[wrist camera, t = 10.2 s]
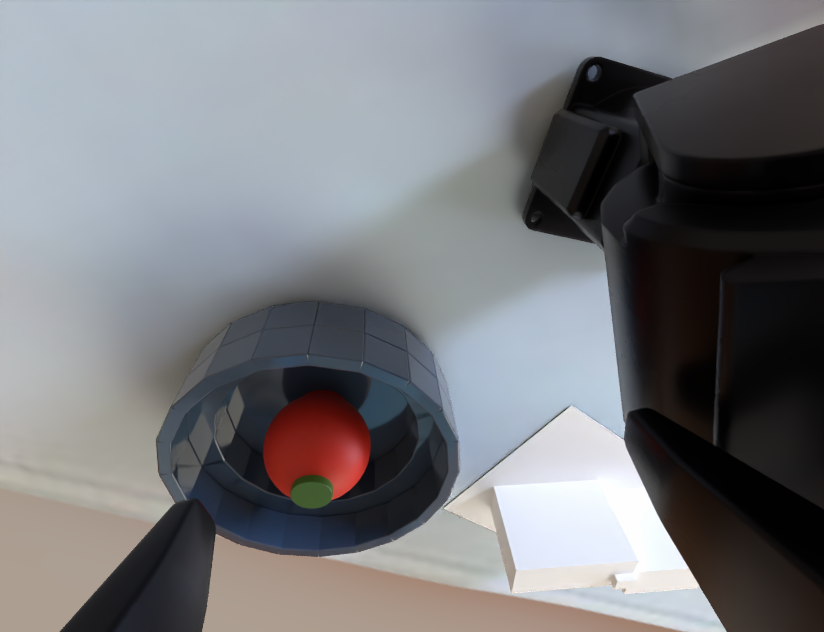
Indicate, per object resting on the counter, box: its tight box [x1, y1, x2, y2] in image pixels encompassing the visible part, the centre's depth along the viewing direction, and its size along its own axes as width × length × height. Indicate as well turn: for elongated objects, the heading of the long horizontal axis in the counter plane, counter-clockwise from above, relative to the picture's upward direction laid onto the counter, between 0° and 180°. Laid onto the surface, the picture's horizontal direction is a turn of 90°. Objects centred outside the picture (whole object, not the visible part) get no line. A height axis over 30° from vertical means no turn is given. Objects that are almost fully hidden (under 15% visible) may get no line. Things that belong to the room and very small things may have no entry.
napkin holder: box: [444, 405, 699, 594], centre depth 28 cm, size 15×11×6 cm
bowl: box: [156, 301, 460, 557], centre depth 22 cm, size 13×13×4 cm
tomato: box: [263, 390, 371, 508], centre depth 21 cm, size 5×5×5 cm
